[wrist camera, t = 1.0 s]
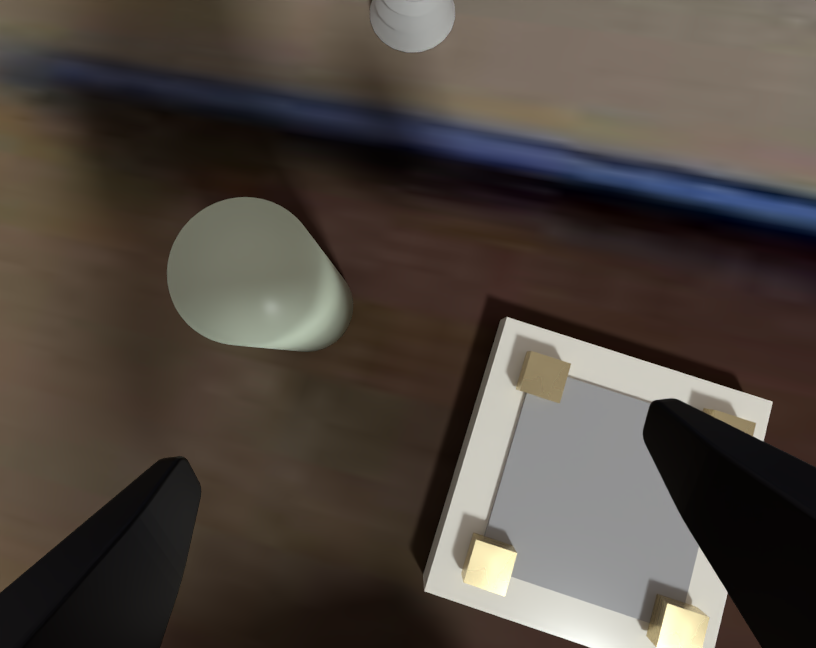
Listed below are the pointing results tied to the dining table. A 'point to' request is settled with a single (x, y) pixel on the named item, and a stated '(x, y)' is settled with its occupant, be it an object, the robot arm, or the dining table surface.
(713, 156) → the dining table surface
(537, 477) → the display tile
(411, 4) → the chalice
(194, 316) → the sage green capsule
